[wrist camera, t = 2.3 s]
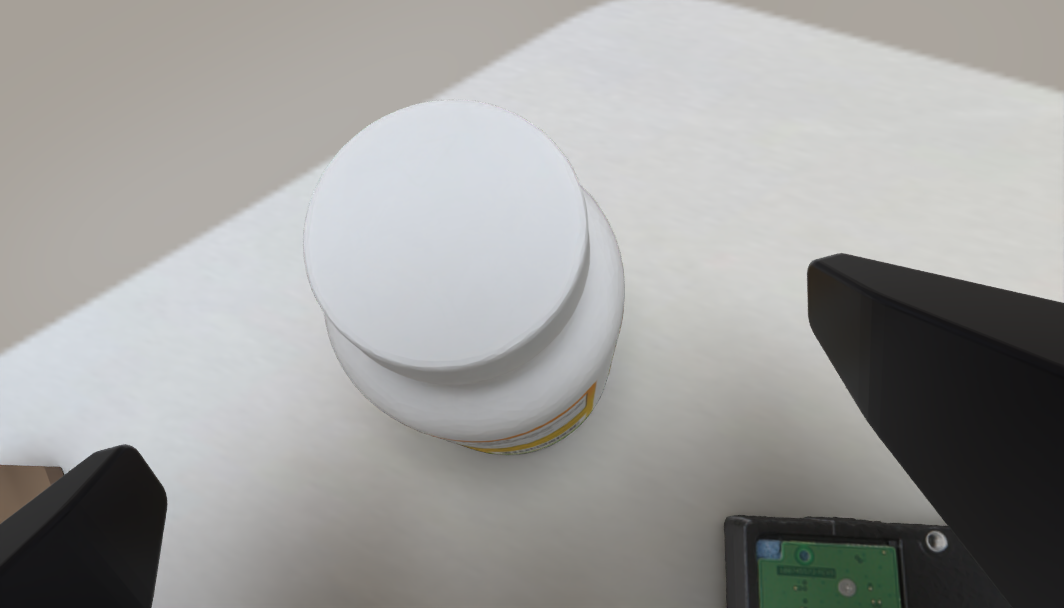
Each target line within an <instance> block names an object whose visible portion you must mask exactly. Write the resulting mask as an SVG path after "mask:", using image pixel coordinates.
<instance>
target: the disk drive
mask: <svg viewBox="0 0 1064 608" xmlns="http://www.w3.org/2000/svg"><path fill="white" fill-rule="evenodd" d="M724 532H725V561H726V582H727V588H726V593H727V594H726V602H727V608H1012V607H1011V606H1010V605H1009V603H1008V602H1007V601H1006V600H1005V598H1004V597H1003V596H1002V594H1001V593H1000V592H999V591H998V589H997V588H996V587H995V585H994V584H993V583H992V582H991V580H990V579H989V578H988V577H987V575H986V574H985V573H984V571H983V570H982V569H981V568H980V566H979V565H978V564H977V562H976V561H975V560H974V559H973V557H972V556H971V555H970V553H969V552H968V551H967V550H966V548H965V547H964V546H963V544H962V543H961V542H960V541H959V539H958V538H957V537H956V535H955V534H954V533H953V532H952V530H951V529H950V528H949V526H938V525H921V524H901V523H882V522H880V521H874V522H873V521H867V520H856V519H854V518H838V517H833V518H830V517H828V518H827V517H805V518H799V519H795V518H775V517H766V516H764V517H761V516H745V515H738V516H736V515H735V516H730V517H727V518H726V520H725V523H724Z"/></svg>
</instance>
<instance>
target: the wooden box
mask: <svg viewBox="0 0 1064 608" xmlns="http://www.w3.org/2000/svg"><path fill="white" fill-rule="evenodd" d="M63 476H64V475H63V472H62V469H61V467H45V466H17V465H0V524H1V523H2V522H3V521H5V520H6V519H7V518H9V517H10V516H11V515H13V514H14V513H15V512H17V511H18V510H19V509H20V508H22V507H23V506H24V505H26V504H27V503H28V502H30V501H31V500H32V499H34V498H35V497H36V496H38V495H39V494H40V493H42V492H43V491H44V490H45V489H47V488H48V487H49V486H51V485H52V484H53V483H55V482H56V481H57V480H59V479H60V478H61V477H63Z"/></svg>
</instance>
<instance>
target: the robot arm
mask: <svg viewBox="0 0 1064 608" xmlns="http://www.w3.org/2000/svg"><path fill="white" fill-rule="evenodd" d="M807 292H808V318H809V323H810V326H811V329H812V331H813V333H814V335H815V336H816V338H817V340H818V341H819V343H820V345H821V346H822V348H823V350H824V351H825V353H826V355H827V356H828V358H829V360H830V361H831V363H832V365H833V366H834V368H835V369H836V371H837V373H838V374H839V376H840V378H841V379H842V381H843V383H844V384H845V386H846V388H847V389H848V391H849V393H850V394H851V396H852V398H853V399H854V401H855V403H856V404H857V406H858V408H859V409H860V411H861V412H862V414H863V415H864V417H865V418H866V420H867V422H868V423H869V424H870V426H871V427H872V428H873V430H874V431H875V432H876V434H877V435H878V437H879V438H880V439H881V440H882V442H883V443H884V444H885V446H886V447H887V448H888V449H889V451H890V452H891V453H892V455H893V456H894V457H895V458H896V460H897V461H898V462H899V464H900V465H901V466H902V467H903V469H904V470H905V471H906V473H907V474H908V475H909V476H910V478H911V479H912V480H913V482H914V483H915V484H916V485H917V487H918V488H919V489H920V490H921V492H922V493H923V494H924V496H925V497H926V498H927V499H928V501H929V502H930V503H931V505H932V506H933V507H934V508H935V510H936V511H937V512H938V514H939V515H940V516H941V517H942V519H943V520H944V521H945V523H946V524H947V525H948V526H949V528H950V529H951V530H952V532H953V533H954V534H955V535H956V537H957V538H958V539H959V541H960V542H961V543H962V544H963V546H964V547H965V548H966V550H967V551H968V552H969V553H970V555H971V556H972V557H973V559H974V560H975V561H976V562H977V564H978V565H979V566H980V568H981V569H982V570H983V571H984V573H985V574H986V575H987V577H988V578H989V579H990V580H991V582H992V583H993V584H994V585H995V587H996V588H997V589H998V591H999V592H1000V593H1001V594H1002V596H1003V597H1004V598H1005V600H1006V601H1007V602H1008V603H1009V605H1010V606H1011V607H1012V608H1064V303H1062V302H1057V301H1053V300H1048V299H1044V298H1039V297H1035V296H1031V295H1026V294H1022V293H1017V292H1013V291H1008V290H1004V289H1000V288H995V287H991V286H986V285H982V284H977V283H973V282H968V281H964V280H960V279H955V278H951V277H946V276H942V275H937V274H933V273H928V272H924V271H920V270H915V269H911V268H906V267H902V266H897V265H893V264H889V263H884V262H880V261H875V260H871V259H866V258H862V257H857V256H853V255H849V254H844V253H840V254H834V255H831V256H827V257H823V258H820V259H816V260H813V261H812V262H811V263H810V264H809V266H808V270H807ZM166 512H167V496H166V492H165V490H164V488H163V486H162V484H161V483H160V481H159V480H158V479H157V477H156V476H155V474H154V473H153V471H152V470H151V469H150V467H149V466H148V464H147V463H146V461H145V460H144V459H143V457H142V456H141V454H140V453H139V452H138V451H137V449H135V448H134V447H133V446H130V445H126V444H125V445H119V446H115V447H112V448H108V449H104V450H100V451H97V452H95V453H93V454H92V455H90V456H89V457H88V458H86V459H85V460H84V461H82V462H81V463H80V464H78V465H77V466H76V467H74V468H73V469H72V470H70V471H69V472H68V473H67V474H65V475H64V476H63V477H61V478H60V479H59V480H57V481H56V482H55V483H53V484H52V485H51V486H49V487H48V488H47V489H45V490H44V491H43V492H42V493H40V494H39V495H38V496H36V497H35V498H34V499H32V500H31V501H30V502H28V503H27V504H26V505H24V506H23V507H22V508H20V509H19V510H18V511H17V512H15V513H14V514H13V515H11V516H10V517H9V518H7V519H6V520H5V521H3V522H2V523H1V524H0V608H151V607H152V602H153V597H154V590H155V584H156V577H157V571H158V564H159V558H160V551H161V545H162V538H163V532H164V525H165V519H166Z"/></svg>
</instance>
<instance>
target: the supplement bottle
mask: <svg viewBox="0 0 1064 608" xmlns="http://www.w3.org/2000/svg"><path fill="white" fill-rule="evenodd" d="M303 249H304V262H305V267H306V272H307V277H308V280H309V283H310V286H311V289H312V291H313V293H314V296H315V298H316V300H317V302H318V304H319V305H320V307H321V309H322V310H323V312H324V316H325V322H326V327H327V331H328V335H329V338H330V341H331V345H332V347H333V349H334V352H335V354H336V356H337V359H338V360H339V362H340V364H341V366H342V368H343V369H344V371H345V372H346V374H347V375H348V377H349V378H350V379H351V381H352V382H353V384H354V385H355V386H356V387H357V389H358V390H359V391H360V392H361V393H362V394H363V395H364V396H365V397H366V398H367V399H368V400H369V401H370V402H372V403H373V404H374V405H375V406H377V407H378V408H379V409H380V410H382V411H383V412H384V413H386V414H388V415H389V416H391V417H392V418H394V419H395V420H397V421H399V422H400V423H402V424H404V425H406V426H408V427H410V428H413V429H415V430H417V431H419V432H422V433H425V434H428V435H431V436H434V437H438V438H441V439H444V440H447V441H450V442H453V443H456V444H459V445H462V446H465V447H468V448H471V449H474V450H477V451H481V452H485V453H490V454H504V455H513V454H523V453H529V452H533V451H537V450H540V449H543V448H546V447H548V446H550V445H552V444H554V443H556V442H558V441H560V440H562V439H563V438H565V437H566V436H568V435H569V434H570V433H572V432H573V431H574V430H575V429H576V428H578V427H579V426H580V425H581V424H582V423H583V422H584V420H585V419H586V418H587V417H588V416H589V414H590V413H591V412H592V410H593V409H594V407H595V406H596V404H597V402H598V401H599V399H600V397H601V394H602V392H603V390H604V387H605V384H606V381H607V378H608V375H609V371H610V367H611V362H612V358H613V355H614V351H615V347H616V343H617V339H618V336H619V332H620V328H621V324H622V318H623V312H624V299H625V286H624V269H623V264H622V258H621V253H620V250H619V246H618V243H617V240H616V237H615V235H614V233H613V230H612V228H611V226H610V224H609V222H608V220H607V218H606V216H605V215H604V213H603V211H602V210H601V208H600V207H599V205H598V204H597V203H596V201H595V200H594V198H593V197H592V196H591V195H590V194H589V193H588V192H587V191H586V190H585V189H584V188H583V187H582V186H581V185H580V183H579V180H578V178H577V176H576V174H575V171H574V169H573V167H572V166H571V164H570V162H569V160H568V159H567V158H566V156H565V155H564V154H563V152H562V151H561V150H560V149H559V147H558V146H557V145H556V144H555V142H554V141H553V140H552V139H550V138H549V137H548V136H547V135H546V134H545V133H544V132H543V131H542V130H541V129H539V128H538V127H536V126H535V125H533V124H532V123H531V122H529V121H528V120H526V119H525V118H523V117H521V116H519V115H518V114H516V113H514V112H511V111H508V110H506V109H504V108H501V107H498V106H495V105H491V104H487V103H483V102H478V101H471V100H454V99H451V100H438V101H429V102H424V103H420V104H416V105H412V106H409V107H406V108H403V109H400V110H398V111H395V112H393V113H391V114H388V115H386V116H385V117H382V118H380V119H379V120H377V121H375V122H373V123H372V124H370V125H369V126H367V127H366V128H364V129H363V130H362V131H361V132H359V133H358V134H357V135H356V136H355V137H353V138H352V139H351V140H350V141H349V142H348V143H347V144H345V145H344V146H343V147H342V148H341V149H340V150H339V152H338V153H337V154H336V156H335V157H334V158H333V159H332V161H331V162H330V163H329V165H328V166H327V167H326V169H325V171H324V172H323V174H322V176H321V177H320V179H319V181H318V183H317V185H316V188H315V190H314V192H313V195H312V198H311V200H310V203H309V206H308V210H307V214H306V219H305V225H304V232H303Z"/></svg>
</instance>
